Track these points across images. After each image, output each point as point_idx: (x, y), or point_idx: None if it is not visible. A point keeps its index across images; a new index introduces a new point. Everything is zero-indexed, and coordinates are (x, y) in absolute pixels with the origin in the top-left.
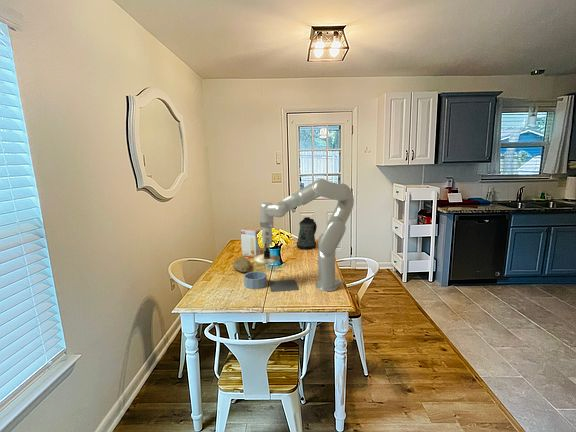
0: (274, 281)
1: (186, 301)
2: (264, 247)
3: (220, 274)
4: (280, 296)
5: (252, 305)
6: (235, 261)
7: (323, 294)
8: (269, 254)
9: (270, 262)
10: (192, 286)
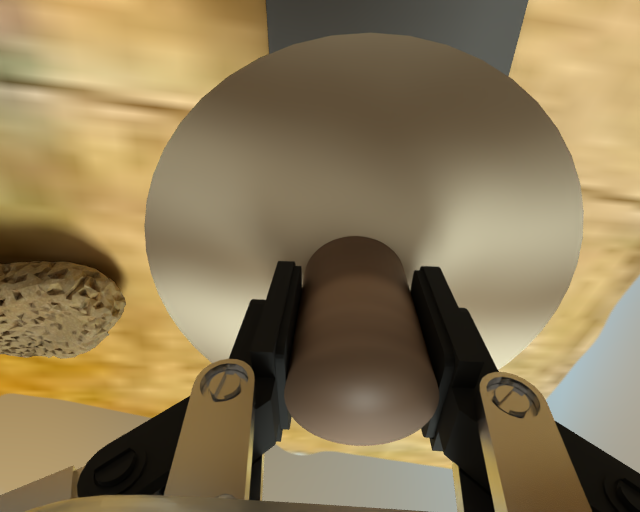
0: None
1: (429, 461)
2: (261, 447)
3: (148, 378)
4: (594, 71)
5: (616, 266)
6: (10, 353)
7: None
8: (452, 300)
9: (576, 246)
10: (290, 452)
